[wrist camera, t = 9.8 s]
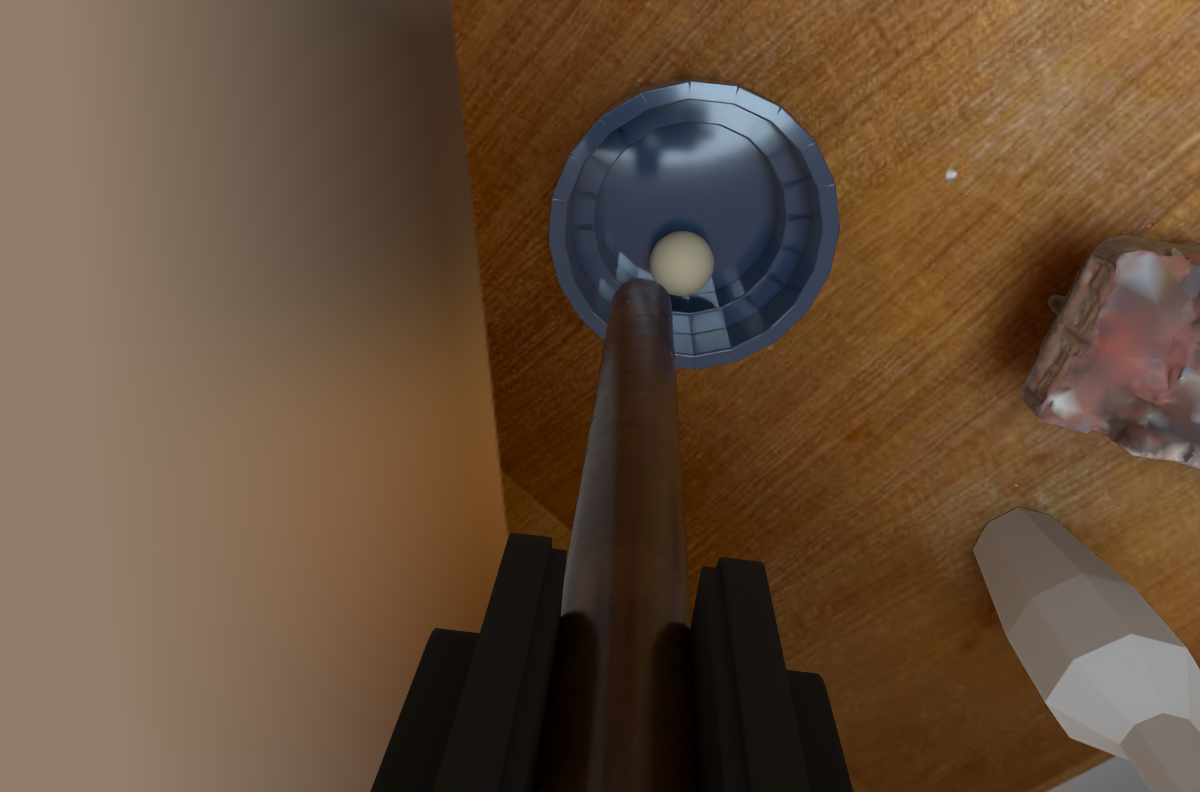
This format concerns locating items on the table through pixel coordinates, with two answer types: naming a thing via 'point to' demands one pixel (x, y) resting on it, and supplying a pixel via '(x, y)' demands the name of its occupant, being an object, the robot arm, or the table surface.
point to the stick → (626, 579)
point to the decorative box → (1127, 350)
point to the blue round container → (698, 212)
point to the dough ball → (682, 263)
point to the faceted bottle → (1094, 648)
